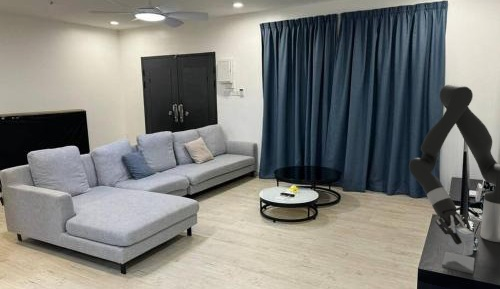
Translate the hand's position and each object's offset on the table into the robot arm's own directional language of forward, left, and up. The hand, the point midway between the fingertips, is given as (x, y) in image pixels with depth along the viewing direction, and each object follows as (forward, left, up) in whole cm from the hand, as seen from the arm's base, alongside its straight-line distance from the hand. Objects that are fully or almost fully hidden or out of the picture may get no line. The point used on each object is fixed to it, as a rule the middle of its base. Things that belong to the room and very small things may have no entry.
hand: (464, 242), depth 135 cm
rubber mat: (-2, -1, -9) cm, 9 cm away
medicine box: (-2, -1, -4) cm, 5 cm away
